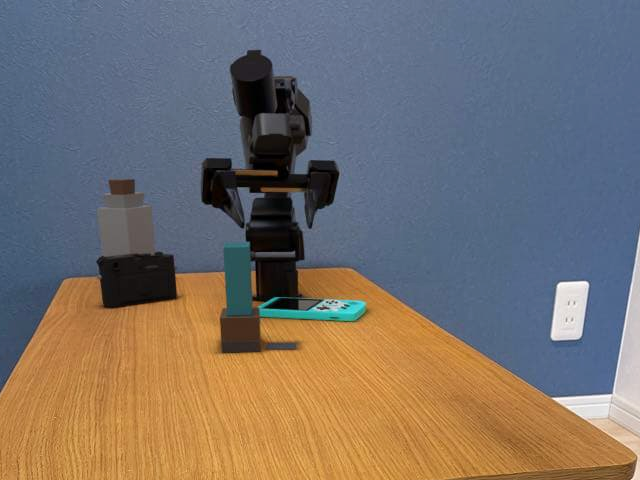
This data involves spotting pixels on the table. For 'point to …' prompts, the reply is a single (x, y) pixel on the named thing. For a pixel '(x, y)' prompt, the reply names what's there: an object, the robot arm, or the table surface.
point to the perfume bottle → (125, 221)
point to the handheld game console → (313, 309)
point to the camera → (137, 279)
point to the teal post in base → (239, 302)
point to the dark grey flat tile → (281, 345)
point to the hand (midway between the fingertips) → (277, 226)
